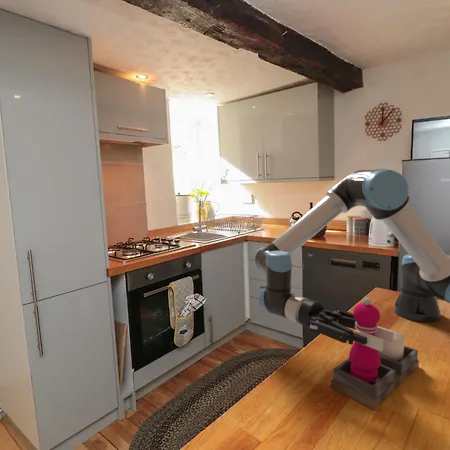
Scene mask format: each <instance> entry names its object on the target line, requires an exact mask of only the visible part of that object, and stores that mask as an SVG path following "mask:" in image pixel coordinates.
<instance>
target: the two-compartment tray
mask: <svg viewBox="0 0 450 450" xmlns="http://www.w3.org/2000/svg"><path fill="white" fill-rule="evenodd" d="M418 351H419V350H418V349H415V348H412V347H410V346H406V345H404V358H403V360H402V361H401V362H400V363H399V362H397V361H394V360H392V359H389V358H387V357H384V356H381V355H380V358H381V364H380V366H379V368H377V370H378V378H377V380H376V381H374V382H365V381H363V380H361V379H359V378H357V377H354V376H352V375H351V365H352V363H351V362H350V360H349V357H348V358H347V359H345V360H343V361H342V362H341V363H340V364H338V365H336V366H335V367H334V368H333V374H332V376H333V377H332V378H331V380H330V389H332V390H334V391H336V392H338V393H339V394H341V395H344V396H346V397H347V398H350V399H351V400H352V401H355V402H356V403H358V404H361V405H363V406H364V407H366V408H369V409H370V410H372V411H375V410H376V409H377V408H378V407H379V406H380V405H381V404H382V403H383V402H385V400H387V398H388V397H389V396H390V395H391V394H392V393H393V392H395V390H396V389H398V388H399V386H400V385H401V384H402V383H404V381H405V380H406V379H408V378H409V376H410V375H412V373H414V372H415V371H416V370H417V369H418V368H419V366H420V365H419V363H420V359H418V354H419V352H418Z"/></svg>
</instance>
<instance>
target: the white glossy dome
mask: <svg viewBox="0 0 450 450" xmlns="http://www.w3.org/2000/svg"><path fill="white" fill-rule="evenodd" d="M405 338H406V337H405V335H403V334H402V333H400V332H398V331H394V342H393V343H390V342H387V341H385V340H383V351H378V352H379V354H380V355H381V356H384V357H387V358H389V359H392V360H394V361H397V362H399V363H400V362H401V361H402V360H403V358H404V346H405V340H406V339H405Z"/></svg>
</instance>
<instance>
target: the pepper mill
mask: <svg viewBox="0 0 450 450" xmlns="http://www.w3.org/2000/svg"><path fill="white" fill-rule="evenodd" d="M380 312H381V311H380V310H379V309H378V308H377V307H376V306H375V305H374V304H372V300H371V299H370V298H369V297H366V298H363V300H362V303H359V304H357V305H356V306H355V307H354V309H353V316H354V318H355V320H356V322H355V328H356V329H355V330H358V331H361V332H364V333H367V334H370V335H373V336H375V332H377V326H378V323H379V321H380V319H381V313H380ZM348 353H349V355H348V358H349V360H350V362H351V363H352V365H351V375H352V376H354V377H357V378H359V379H361V380H363V381H365V382H374V381H376V380H377V378H378V370H377V368H379V366H380V364H381V358H380V354H379V352H378V350H376V349H373V348H371V347H368V346H365V345H363V344H360V343H358V342H355V341H353V344H352V345H351V347H350V350H349V352H348Z"/></svg>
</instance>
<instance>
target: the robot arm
mask: <svg viewBox="0 0 450 450" xmlns="http://www.w3.org/2000/svg"><path fill="white" fill-rule="evenodd" d="M408 190H409V184H408V182H407V180H406V178H405V177H404V176H403V175H402V174H401V173H400V172H398V171H396V170H394V169H393V170H392V169H387V168H378V169H377V168H376V169H367V170H366V169H365V170H364V169H363V170H362V169H361V170H356V171H353V172H351V173H350V174H347V175H346V176H344V177H343V178H341V180H339V181H338V182H337V183H335V184H334V185H333V186H332V187H331V188H330V189H329V190H328V191H326V193H325V194H326V195H325V197H324V198H323V199H321V200H320V201H319V202H318V203H317V204H316V205H315V206H312V208H311V209H309V210H308V211H307V212H306V213H305V214H304V215H302V217H300V218H299V219H298V220H296V222H295V223H293V224H292V225H291V226H289V227H288V228H287V229H286V230H285V231H284V232H282V233H281V234H280V235H279V236H278V237H277V238H275V239H274V240H273V241H271V242H270V243H269V244H268V245H267V246H266V247H265V246H264V247H260V248H258V249H256V251H254V254H253V262H254V264H255V265H256V267H257V269H259V270H260V271H261V272H262V273H263V274H264V275H265V277H266V284H265V285H266V286H265V287H264V288H262V290H261V291H260V292H259V296H258V305H259V307H260V308H261V309H263V311H264V310H265V311H267V312H268V313H270V314H272V315H276V316H278V317H282V318H283V319H287V320H288V321H291V322H294V323H295V324H299V325H302V326H304V327H306V328H308V329H309V331H310V332H314V333H318V334H321V335H323V336H326V337H328V338H331V339H333V340H336V341H338V342H341V343H343V344H347V343H348V344H349V345H353V344H354V342H358V343H360V344H363V345H365V346H368V347H371V348H373V349H376V350H378V351H383V340H385V341H387V342H390V343H393V342H394V332H395V331H394V330H391V329H387V328H385V327H381V326H378V325H377V332H375V336H373V335H370V334H367V333H364V332H361V331H358V330H356V328H355V322H356V320H355V318H354V316H353V313H352V312H348V311H345V310H343V309H341V308H339V307H337V308H335V311H333V310H331V309H325V308H324V306H323V305H322V303H321V302H318V301H316V300H312V299H309V298H308V297H303V296H300V295H297V294H294V293H292V267H293V263H292V255H293V254H294V253H295V252H297V251H298V250H299V249H300V248H301V247H302V246H303V245H305V244H306V243H307V242H309V240H311V239H312V238H313V237H314V236H316V234H318V233H319V232H320V231H321V230H322V229H324V228H325V227H327V225H329V224H330V223H331V222H332V221H333V220H334V219H336V218H337V217H338V216H339V215H341V214H346V213H348V212H349V211H350V210H351V209H353V208H355V207H364V208H365V209H367V211H368V212H369V213H370V215H371V217H373V218H374V219H375V220H377V221H383V223H384V224H385V226H386V227H387V228H388V229H389V230H390V232H391V233H392V234H393V235H394V237H395V238H396V240H397V241H398V242H399V243H400V244H401V246H402V247H403V248H404V250H405V251H406V252H407V253H408V254H405V255H403V257H402V260H401V265H400V266H401V269H400V271H401V272H400V274H401V275H400V292H399V294H398V296H397V299H396V301H395V303H394V309H393V310H394V313H395V314H396V315H398V316H399V317H402V318H405V319H407V320H410V321H411V320H412V321H416V322H422V323H431V322H436V321H439V320H440V319H441V310H440V306H439V301H438V300H437V298H438V299H441V300H442V301H445V302H447V303H448V304H450V255H449V254H446V253H445V252H444V250H443V249H442V247H440V245H439V244H438V242H437V241H436V239H434V237H433V236H432V235H431V233H430V232H429V230H428V229H427V228H426V226H425V225H424V224H423V222H422V221H421V220H420V219H419V217H418V216H417V214H416V213H415V212H414V211H413V209H412V208H411V206H410V205H409V203H410V196H409V191H408ZM347 341H348V342H347Z"/></svg>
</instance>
